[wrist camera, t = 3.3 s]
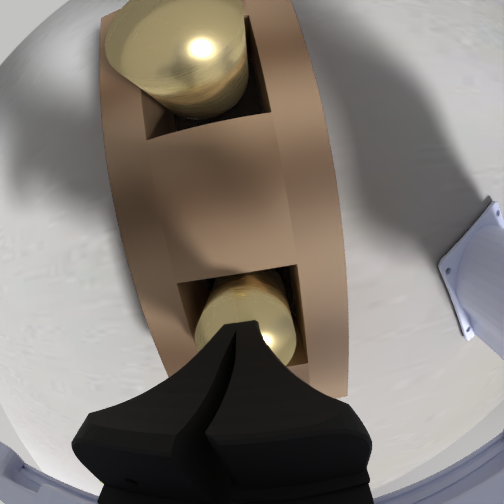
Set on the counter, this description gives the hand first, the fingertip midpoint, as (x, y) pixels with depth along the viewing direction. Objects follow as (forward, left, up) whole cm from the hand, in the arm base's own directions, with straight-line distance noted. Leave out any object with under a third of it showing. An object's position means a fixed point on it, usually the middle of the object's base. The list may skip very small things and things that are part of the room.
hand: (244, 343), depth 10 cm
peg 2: (0, 0, -5) cm, 5 cm away
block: (+5, -3, -6) cm, 8 cm away
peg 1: (+9, -6, -2) cm, 11 cm away
